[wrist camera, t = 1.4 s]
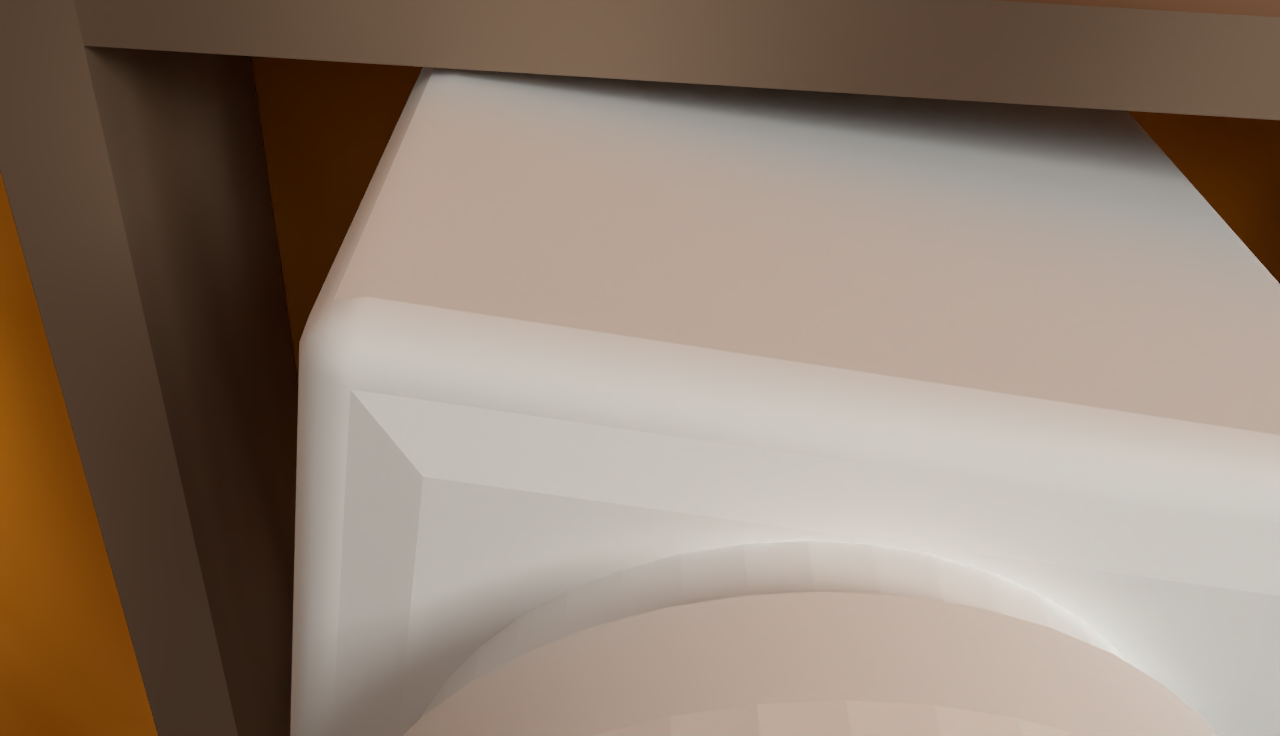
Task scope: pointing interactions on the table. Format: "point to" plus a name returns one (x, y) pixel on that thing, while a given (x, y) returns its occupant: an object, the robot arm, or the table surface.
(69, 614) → the table surface
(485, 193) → the medicine bottle
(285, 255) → the table surface
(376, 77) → the table surface
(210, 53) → the walnut rack
